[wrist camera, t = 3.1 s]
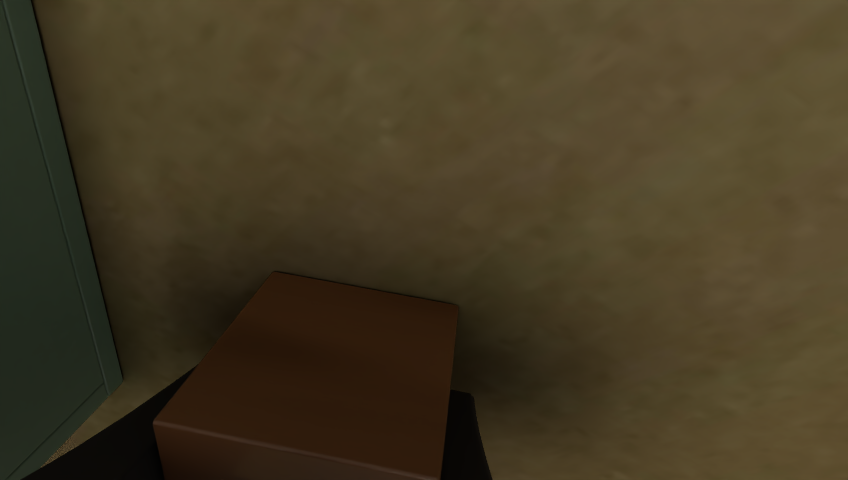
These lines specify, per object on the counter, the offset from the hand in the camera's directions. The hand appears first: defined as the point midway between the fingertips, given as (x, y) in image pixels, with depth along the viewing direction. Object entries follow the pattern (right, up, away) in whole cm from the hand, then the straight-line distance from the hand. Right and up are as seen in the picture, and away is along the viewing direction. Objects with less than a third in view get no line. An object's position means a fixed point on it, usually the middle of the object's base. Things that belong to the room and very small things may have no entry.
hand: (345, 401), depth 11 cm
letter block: (0, +1, +1) cm, 1 cm away
